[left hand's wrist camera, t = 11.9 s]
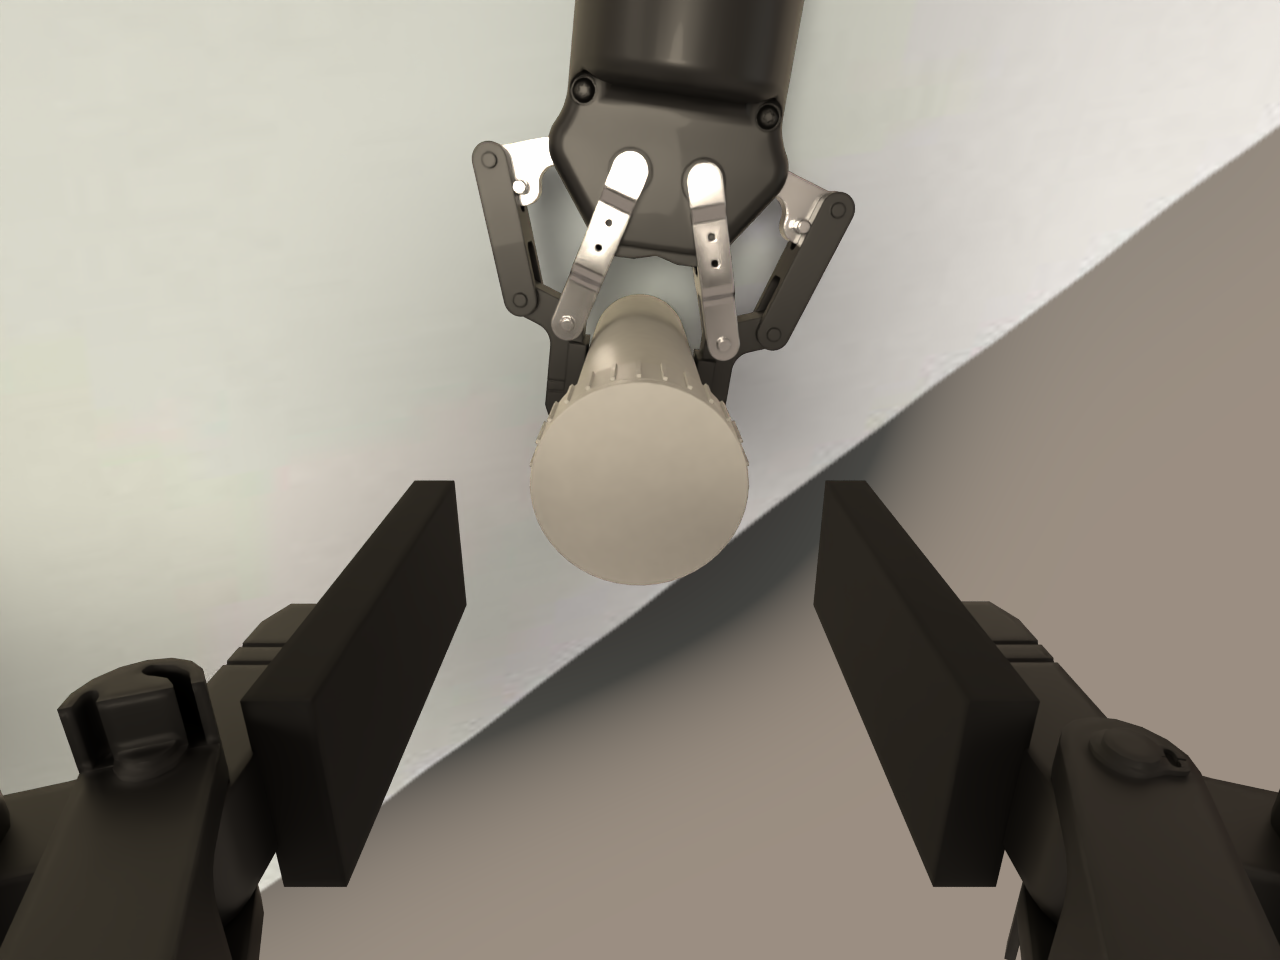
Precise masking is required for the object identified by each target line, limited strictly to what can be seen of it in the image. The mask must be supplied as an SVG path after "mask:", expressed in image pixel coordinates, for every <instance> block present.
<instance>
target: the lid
mask: <svg viewBox="0 0 1280 960" xmlns="http://www.w3.org/2000/svg"><path fill="white" fill-rule="evenodd" d="M547 422H548V423H547ZM547 422H545V421H544V423H543V426H542V428H541V430H540V433H539V435H538V437H537V440H536V442H535V443H536V444H538V445H537V448H536V450H535V452H534V455H533V457H532V460H531V462H530V467H531V476H530V492H531V499H532V505H533V509H534V512H535V515H536V518H537V520H538V522H539V524H540V526H541V529H542V531H543V532H544V534H545V535H546V537H547V538H548V540H549V541H550V543H551V544H552V545H553V546H554V547H555V548H556V550H557V551H558V552H559V553H560V554H561V555H562V556H564V557H565V558H566V559H567V560H568V561H569V562H571V563H572V564H574V565H575V566H576V567H578V568H579V569H581V570H583V571H585V572H587V573H589V574H591V575H593V576H595V577H598V578H601V579H603V580H606V581H610V582H614V583H619V584H627V585H652V584H660V583H664V582H669V581H672V580H675V579H678V578H681V577H684V576H686V575H688V574H690V573H692V572H694V571H696V570H698V569H699V568H701V567H702V566H704V565H705V564H707V563H708V562H709V561H711V560H712V559H713V558H714V557H715V556H717V555H718V554H719V553H720V551H721V550H722V549H723V548H724V547H725V546H726V545H727V544H728V542H729V541H730V539H731V538H732V537H733V535H734V534H735V532H736V530H737V528H738V526H739V524H740V522H741V520H742V517H743V514H744V511H745V508H746V503H747V498H748V489H749V480H748V469H747V466H749V463H748V460H747V457H746V455H745V452H744V450H743V447H742V445H741V443H742V442H743V440H742V438H741V436H740V433H739V431H738V428H737V426H736V424H735V421H731V418H730V416H729V413H728V411H727V408H726V406H725V403H724V402H723V401H721V402H719V400H718V399H717V398H716V397H715V396H714V395H713V394H712V393H711V391H710V388H709V386H708V385H707V384H706V383H705V384H704V385H702V384H701V383H700V382H699V381H697V380H695V379H694V378H692V377H690V375H689V372H687V371H684V373H683V372H680V371H678V370H676V369H673V368H669V367H666V364H665V363H661V365H657V364H650V363H641V360H637V363H630V364H621V365H617V364H616V363H613V364H612V367H609V368H606V369H603V370H601V371H598V372H596V373H594V372H593V371H592V372H590V373H589V375H588V377H587V378H585V379H583V380H582V381H580V382H579V383H578V384H576V385H575V386H574V385H573V384H572V385H570V386H569V389H568V392H567V393H566V394H565V395H564V397H563V398H562V399H561V400H560V402H559V403H558V402H557V401H556V402H555V403H554V405H553V407H552V410H551V412H550V414H549V417H548V419H547Z"/></svg>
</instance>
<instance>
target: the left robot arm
mask: <svg viewBox="0 0 1280 960" xmlns="http://www.w3.org/2000/svg"><path fill="white" fill-rule="evenodd" d="M465 607H466V594H465V584H464V574H463V564H462V553H461V543H460V533H459V523H458V513H457V502H456V492H455V482H454V481H414V482H413V483H412V485H411V486H410V487H409V488H408V490H407V491H406V492H405V493H404V495H403V496H402V497H401V499H400V500H399V501H398V502H397V504H396V505H395V506H394V507H393V509H392V510H391V511H390V512H389V514H388V515H387V516H386V517H385V519H384V520H383V521H382V522H381V524H380V525H379V526H378V528H377V529H376V530H375V531H374V533H373V534H372V535H371V536H370V538H369V539H368V540H367V541H366V543H365V544H364V545H363V546H362V548H361V549H360V550H359V551H358V553H357V554H356V555H355V556H354V558H353V559H352V560H351V562H350V563H349V564H348V565H347V567H346V568H345V569H344V570H343V572H342V573H341V574H340V575H339V577H338V578H337V579H336V580H335V582H334V583H333V584H332V585H331V587H330V588H329V589H328V591H327V592H326V593H325V594H324V596H323V597H322V598H321V599H320V601H319V602H318V603H317V604H290V605H288V606H287V607H285V608H283V609H282V610H280V611H279V612H277V613H275V614H274V615H272V616H270V617H269V618H267V619H266V620H264V621H262V622H261V623H260V624H259V625H258V627H257V628H256V629H255V630H254V631H253V632H252V633H251V634H250V636H249V637H248V638H247V639H246V640H245V641H244V642H243V647H239V648H238V649H237V650H236V651H235V652H234V653H233V655H232V656H231V657H230V658H229V659H228V660H227V665H223V666H222V667H221V668H220V669H219V670H218V671H217V673H216V674H215V675H214V676H213V677H212V678H211V679H210V680H209V682H208V683H206V679H205V676H204V672H203V669H202V668H201V667H199V666H198V665H197V664H195V663H194V662H192V661H189V660H183V659H176V658H165V659H154V660H146V661H142V662H138V663H135V664H131V665H127V666H123V667H120V668H117V669H115V670H113V671H110V672H108V673H106V674H104V675H101V676H99V677H97V678H94V679H92V680H91V681H89V682H88V683H86V684H85V685H83V686H82V687H80V688H79V689H77V690H76V691H74V692H73V693H71V694H70V695H69V697H68V698H67V699H66V700H65V701H64V702H63V703H62V705H61V706H60V707H59V708H58V709H57V711H58V714H59V716H60V719H61V722H62V725H63V728H64V731H65V734H66V737H67V739H68V742H69V745H70V748H71V751H72V754H73V757H74V759H75V762H76V765H77V768H78V771H79V776H78V778H77V779H76V780H73V781H69V782H64V783H60V784H55V785H50V786H46V787H41V788H36V789H32V790H27V791H22V792H18V793H13V794H8V795H4V796H3V795H2V793H1V790H0V960H259V953H260V944H261V935H262V925H263V916H264V911H263V905H262V899H261V894H260V890H259V887H258V883H259V881H260V879H261V878H262V876H263V874H264V872H265V870H266V869H267V867H268V865H269V863H270V861H271V860H272V858H273V856H274V854H275V852H276V855H277V859H278V863H279V867H280V871H281V876H282V880H283V884H284V887H347V885H348V883H349V880H350V878H351V876H352V873H353V871H354V869H355V866H356V864H357V861H358V859H359V857H360V854H361V852H362V850H363V847H364V845H365V843H366V840H367V838H368V836H369V833H370V831H371V829H372V826H373V824H374V821H375V819H376V817H377V814H378V812H379V810H380V807H381V805H382V803H383V800H384V798H385V796H386V793H387V791H388V789H389V786H390V784H391V782H392V779H393V777H394V774H395V772H396V770H397V767H398V765H399V763H400V760H401V758H402V756H403V753H404V751H405V749H406V746H407V744H408V742H409V739H410V737H411V734H412V732H413V730H414V727H415V725H416V723H417V720H418V718H419V716H420V713H421V711H422V709H423V706H424V704H425V702H426V699H427V697H428V694H429V692H430V690H431V687H432V685H433V683H434V680H435V678H436V676H437V673H438V671H439V669H440V666H441V664H442V662H443V659H444V657H445V654H446V652H447V650H448V647H449V645H450V643H451V640H452V638H453V636H454V633H455V631H456V629H457V626H458V624H459V622H460V619H461V617H462V614H463V612H464V610H465ZM814 607H815V610H816V612H817V614H818V617H819V619H820V622H821V624H822V626H823V628H824V631H825V633H826V636H827V638H828V640H829V643H830V645H831V647H832V650H833V652H834V654H835V657H836V659H837V661H838V664H839V666H840V668H841V671H842V673H843V676H844V678H845V680H846V683H847V685H848V687H849V690H850V692H851V694H852V697H853V699H854V701H855V704H856V706H857V709H858V711H859V713H860V716H861V718H862V720H863V723H864V725H865V727H866V730H867V732H868V734H869V737H870V739H871V741H872V744H873V746H874V749H875V751H876V753H877V756H878V758H879V760H880V763H881V765H882V767H883V770H884V772H885V774H886V777H887V779H888V782H889V784H890V786H891V788H892V791H893V793H894V796H895V798H896V800H897V803H898V805H899V807H900V810H901V812H902V814H903V817H904V819H905V822H906V824H907V826H908V828H909V831H910V833H911V836H912V838H913V840H914V843H915V845H916V847H917V850H918V852H919V854H920V857H921V859H922V861H923V864H924V866H925V869H926V871H927V873H928V876H929V878H930V880H931V883H932V885H933V887H996V884H997V880H998V876H999V871H1000V867H1001V863H1002V859H1003V855H1004V851H1006V852H1007V854H1008V856H1009V858H1010V859H1011V861H1012V863H1013V865H1014V867H1015V868H1016V870H1017V872H1018V874H1019V876H1020V877H1021V879H1022V881H1023V883H1022V887H1021V891H1020V894H1019V898H1018V902H1017V906H1016V910H1015V914H1014V918H1013V922H1012V926H1011V930H1010V933H1009V937H1008V941H1007V947H1006V952H1005V959H1007V960H1015V959H1016V956H1017V952H1018V948H1019V946H1020V950H1021V960H1280V790H1279V793H1278V792H1273V791H1269V790H1264V789H1259V788H1254V787H1250V786H1245V785H1240V784H1236V783H1231V782H1226V781H1222V780H1217V779H1212V778H1208V777H1205V776H1202V774H1201V772H1200V771H1199V770H1198V768H1197V767H1196V766H1195V764H1194V763H1193V762H1192V760H1191V759H1190V758H1189V756H1188V755H1187V754H1185V753H1184V752H1183V751H1181V750H1180V749H1179V748H1177V747H1176V746H1175V745H1173V744H1172V743H1171V742H1170V741H1168V740H1167V739H1165V738H1163V737H1161V736H1159V735H1157V734H1155V733H1153V732H1151V731H1149V730H1147V729H1145V728H1143V727H1140V726H1136V725H1133V724H1130V723H1127V722H1123V721H1120V720H1117V719H1109V718H1107V717H1106V716H1105V715H1104V714H1103V713H1102V712H1101V711H1100V709H1099V708H1098V707H1097V706H1096V705H1095V704H1094V703H1093V702H1092V700H1091V699H1090V698H1089V697H1088V696H1087V695H1086V694H1085V693H1084V692H1083V691H1082V689H1081V688H1080V687H1079V686H1078V685H1077V684H1076V683H1075V682H1074V680H1073V679H1072V678H1071V677H1070V676H1069V675H1068V674H1067V673H1066V672H1065V670H1064V669H1063V668H1062V667H1061V666H1060V665H1059V664H1058V663H1054V661H1053V657H1052V656H1051V655H1050V654H1049V653H1048V651H1047V650H1046V649H1045V648H1044V647H1043V646H1042V645H1038V640H1037V639H1036V638H1035V637H1034V636H1033V635H1032V634H1031V633H1030V631H1029V630H1028V629H1027V628H1026V627H1025V626H1024V625H1023V623H1022V622H1021V621H1020V620H1019V619H1017V618H1016V617H1014V616H1012V615H1011V614H1009V613H1007V612H1006V611H1004V610H1003V609H1001V608H999V607H998V606H996V605H994V604H993V603H991V602H961V601H960V599H959V598H958V597H957V596H956V594H955V593H954V592H953V591H952V589H951V588H950V587H949V585H948V584H947V583H946V582H945V580H944V579H943V578H942V577H941V575H940V574H939V573H938V572H937V570H936V569H935V568H934V567H933V565H932V564H931V563H930V562H929V560H928V559H927V558H926V556H925V555H924V554H923V553H922V551H921V550H920V549H919V548H918V546H917V545H916V544H915V543H914V541H913V540H912V539H911V538H910V536H909V535H908V534H907V533H906V531H905V530H904V529H903V528H902V526H901V525H900V524H899V523H898V521H897V520H896V519H895V517H894V516H893V515H892V514H891V512H890V511H889V510H888V509H887V507H886V506H885V505H884V504H883V502H882V501H881V500H880V499H879V497H878V496H877V495H876V494H875V492H874V491H873V490H872V488H871V487H870V486H869V485H868V483H867V482H866V481H826V482H825V492H824V503H823V513H822V523H821V533H820V543H819V553H818V564H817V574H816V584H815V594H814Z"/></svg>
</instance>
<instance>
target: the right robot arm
mask: <svg viewBox="0 0 1280 960" xmlns="http://www.w3.org/2000/svg"><path fill="white" fill-rule="evenodd" d="M803 4H804V0H575V10H574V22H573V34H572V45H571V57H570V69H569V81H568V91H567V96H566V100H565V103H564V106H563V108H562V110H561V112H560V114H559V116H558V117H557V119H556V121H555V122H554V124H553V125H552V127H551V130H550V133H549V137H544V138H538V139H533V140H527V141H522V142H516V143H511V144H506V145H501V144H498V143H495V142H493V141H484V142H481V143H480V144H478V145H477V146H476V147H475V149H474V151H473V154H472V163H473V168H474V172H475V177H476V181H477V185H478V190H479V194H480V199H481V203H482V207H483V212H484V216H485V220H486V225H487V229H488V234H489V238H490V242H491V247H492V251H493V255H494V260H495V264H496V269H497V273H498V277H499V282H500V286H501V290H502V295H503V299H504V303H505V306H506V308H507V309H508V311H509V312H510V313H512V314H513V315H515V316H520V317H525V318H527V319H529V320H531V321H533V322H535V323H537V324H539V325H540V326H542V327H543V328H544V329H545V330H546V332H547V333H548V335H549V338H550V356H549V367H548V378H547V379H548V380H547V391H546V401H545V405H546V409H547V412H548V415H549V414H550V412H551V410H552V407H553V405H554V403H555V402H556V401H557V402H558V403H559V402H560V400H561V399H562V398H563V397H564V395H565V394H566V393H567V392H568V389H569V386H570V385H572V384H573V385H574V386H575V385H576V384H577V383H578V380H579V377H580V374H581V371H582V368H583V365H584V362H585V359H586V356H587V353H588V350H589V342H590V335H587V334H585V332H586V323H587V319H588V316H589V314H590V312H591V309H592V307H593V305H594V302H595V300H596V297H597V295H598V293H599V290H600V288H601V286H602V283H603V281H604V279H605V276H606V274H607V271H608V269H609V267H610V264H611V262H612V260H613V257H614V256H618V257H625V258H632V259H635V258H642V257H650V256H658V257H661V258H663V259H665V260H668V261H670V262H672V263H675V264H677V265H684V266H691V267H693V273H694V281H695V287H696V292H697V298H698V305H699V313H700V320H701V328H702V339H701V345H700V350H698V349H694V354H693V359H694V362H695V365H696V368H697V371H698V374H699V377H700V380H701V383H702V385H704V384H705V383H706V384H707V385H708V386H709V388H710V391H711V393H712V394H713V395H714V396H715V397H716V398H717V399H718V400H719V402H721V401H723V402H724V403H725V406H726V400H727V394H728V389H729V383H730V377H731V372H732V367H733V365H734V363H735V361H736V360H737V359H738V358H739V357H740V356H741V355H743V354H745V353H748V352H752V351H757V350H762V349H767V350H771V351H774V350H778V349H781V348H782V347H784V346H785V345H786V343H787V342H788V340H789V338H790V336H791V334H792V332H793V331H794V329H795V327H796V325H797V323H798V321H799V319H800V317H801V315H802V313H803V311H804V310H805V308H806V306H807V304H808V302H809V300H810V298H811V296H812V294H813V292H814V291H815V289H816V287H817V285H818V283H819V281H820V279H821V277H822V275H823V273H824V271H825V270H826V268H827V266H828V264H829V262H830V260H831V258H832V256H833V254H834V252H835V251H836V249H837V247H838V245H839V243H840V241H841V239H842V237H843V235H844V233H845V231H846V230H847V228H848V226H849V224H850V222H851V220H852V218H853V216H854V213H855V204H854V201H853V199H852V198H851V197H850V196H849V195H848V194H846V193H843V192H838V191H827V190H825V189H823V188H821V187H819V186H817V185H815V184H813V183H811V182H809V181H807V180H805V179H803V178H801V177H799V176H797V175H795V174H793V173H791V172H789V171H788V159H787V155H786V152H785V149H784V145H783V139H782V121H783V115H784V109H785V104H786V98H787V93H788V87H789V82H790V76H791V70H792V65H793V59H794V54H795V48H796V43H797V37H798V32H799V26H800V21H801V15H802V10H803ZM552 166H555V168H556V170H557V172H558V174H559V175H560V177H561V179H562V181H563V183H564V185H565V187H566V189H567V190H568V192H569V194H570V196H571V198H572V200H573V202H574V203H575V205H576V207H577V209H578V211H579V213H580V215H581V216H582V218H583V220H584V222H585V224H586V226H587V228H588V229H587V231H586V233H585V236H584V238H583V241H582V243H581V246H580V248H579V251H578V253H577V256H576V258H575V261H574V263H573V266H572V268H571V271H570V275H569V277H568V280H567V282H566V285H565V287H564V290H563V292H562V294H561V293H559V292H557V291H555V290H553V289H551V288H550V287H548V286H546V285H544V284H543V280H542V276H541V271H540V266H539V261H538V256H537V252H536V247H535V242H534V237H533V232H532V228H531V223H530V218H529V213H528V208H527V205H530V204H533V203H535V202H536V201H537V200H538V199H539V198H540V196H541V193H542V178H543V175H544V173H545V172H546V171H547V170H548V169H549V168H550V167H552ZM774 198H776V199H777V200H778V201H779V203H780V205H781V208H782V216H781V219H780V222H779V231H780V233H781V235H782V237H783V238H784V239H786V240H787V241H788V243H787V245H786V247H785V249H784V251H783V253H782V255H781V257H780V259H779V261H778V263H777V265H776V267H775V269H774V271H773V273H772V275H771V277H770V279H769V281H768V283H767V285H766V287H765V289H764V291H763V293H762V295H761V297H760V299H759V301H758V303H757V305H756V307H755V309H754V311H753V313H748V314H744V315H740V316H737V315H736V306H735V285H734V276H733V268H732V259H731V251H730V245H731V244H732V243H733V242H734V241H735V240H736V239H737V237H738V236H739V235H740V234H741V233H742V232H743V231H744V230H745V229H746V228H747V227H748V226H749V225H750V224H751V223H752V222H753V221H754V219H755V218H756V217H757V216H758V215H759V214H760V213H761V212H762V211H763V210H764V209H765V208H766V207H767V206H768V205H769V204H770V203H771V201H772V200H773V199H774Z"/></svg>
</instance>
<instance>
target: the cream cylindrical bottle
mask: <svg viewBox="0 0 1280 960" xmlns="http://www.w3.org/2000/svg"><path fill="white" fill-rule="evenodd" d="M637 360H641V363H650V364H657V365H661V363H665V364H666V367H669V368H673V369H676V370H678V371H680V372H683V373H684V371H687V372H689V375H690V377H692V378H694V379H695V380H697V381H699V382H700V383H701V380H700V377H699V374H698V371H697V368H696V365H695V362H694V359H693V356H692V353H691V350H690V347H689V344H688V341H687V338H686V335H685V332H684V329H683V326H682V323H681V321H680V319H679V317H678V315H677V314H676V312H675V311H674V310H673V309H672V308H671V307H670V306H669V305H668V304H667V303H666V302H664V301H662V300H661V299H658V298H656V297H653V296H650V295H644V294H636V295H629V296H626V297H623V298H621V299H619V300H617V301H615V302H614V303H612V304H611V305H610V306H609V307H608V308H607V309H606V310H605V311H604V313H603V314H602V315H601V317H600V319H599V321H598V323H597V326H596V329H595V332H594V335H593V338H592V341H591V344H590V347H589V350H588V353H587V356H586V359H585V362H584V365H583V368H582V371H581V374H580V377H579V380H578V383H579V382H580V381H582V380H583V379H585V378H587V377H588V375H589V373H590V372H592V371H593V372H594V373H596V372H598V371H601V370H603V369H606V368H609V367H612V364H613V363H616V364H617V365H621V364H630V363H637ZM578 383H577V384H578ZM701 384H702V383H701Z"/></svg>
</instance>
